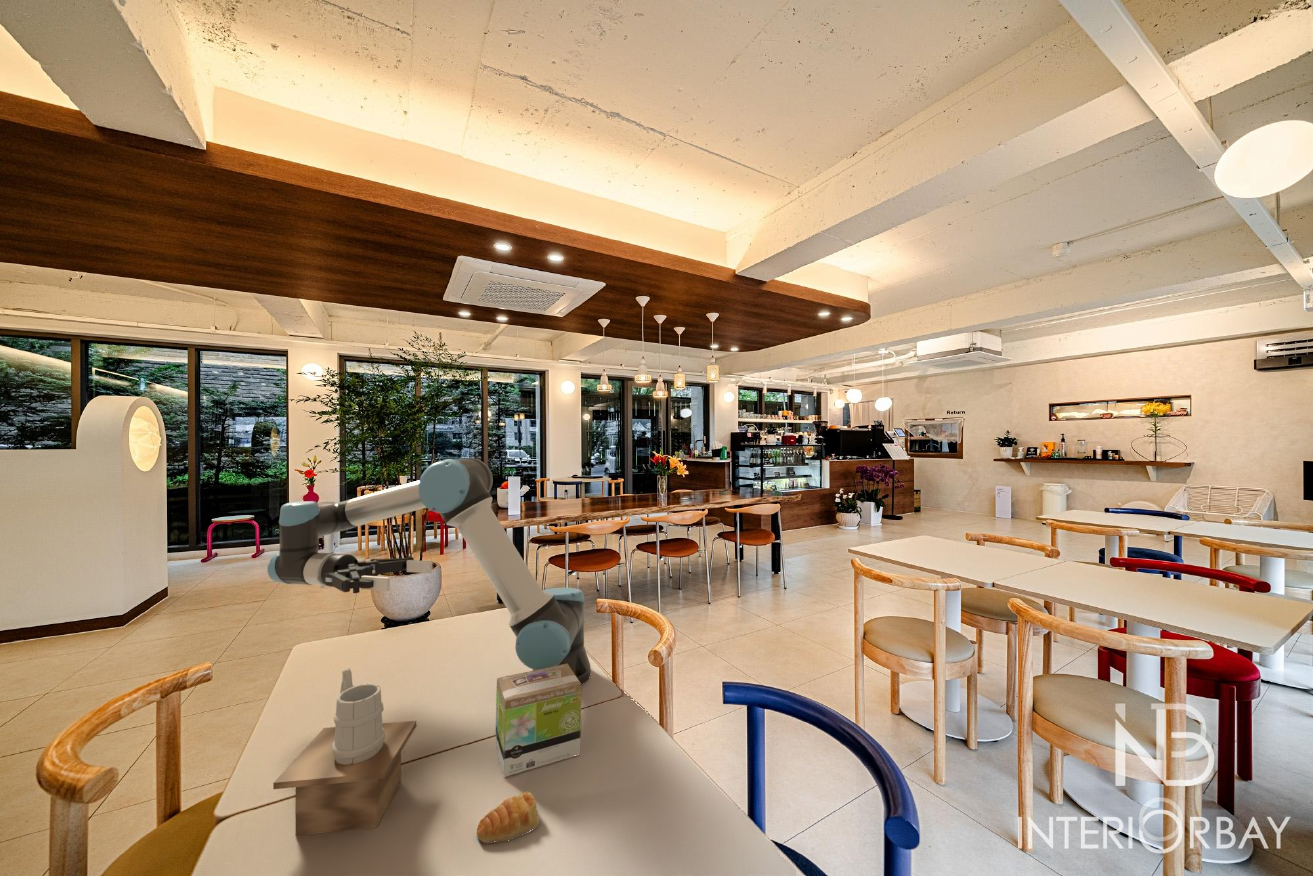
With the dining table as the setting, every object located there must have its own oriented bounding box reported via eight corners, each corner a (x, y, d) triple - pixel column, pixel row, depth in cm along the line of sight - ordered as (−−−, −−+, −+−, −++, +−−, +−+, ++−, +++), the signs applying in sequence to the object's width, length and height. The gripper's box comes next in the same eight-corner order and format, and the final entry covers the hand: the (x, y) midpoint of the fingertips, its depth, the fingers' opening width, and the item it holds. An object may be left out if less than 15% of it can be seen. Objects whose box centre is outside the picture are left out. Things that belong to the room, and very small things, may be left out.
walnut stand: (416, 773, 89) (416, 720, 89) (384, 835, 75) (384, 772, 75) (323, 782, 87) (323, 727, 87) (273, 848, 73) (273, 782, 73)
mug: (341, 773, 75) (341, 697, 75) (316, 743, 82) (317, 674, 82) (392, 749, 81) (392, 678, 81) (365, 722, 88) (365, 658, 88)
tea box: (503, 781, 87) (503, 700, 87) (495, 749, 96) (495, 676, 96) (582, 756, 94) (582, 681, 94) (567, 728, 103) (567, 660, 103)
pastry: (482, 858, 71) (482, 832, 71) (472, 828, 77) (472, 804, 77) (542, 829, 77) (542, 805, 77) (528, 802, 82) (528, 780, 82)
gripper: (374, 571, 124) (446, 576, 120) (281, 603, 100) (367, 611, 95) (374, 542, 124) (446, 546, 120) (281, 568, 100) (367, 574, 95)
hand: (411, 575), depth 108 cm, fingers open, 13 cm apart
